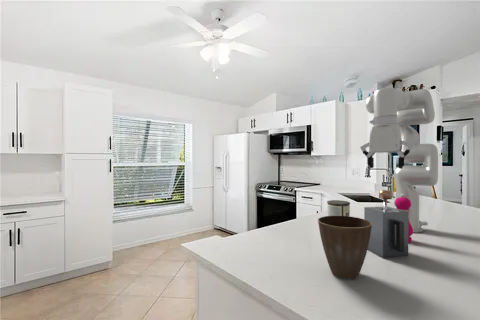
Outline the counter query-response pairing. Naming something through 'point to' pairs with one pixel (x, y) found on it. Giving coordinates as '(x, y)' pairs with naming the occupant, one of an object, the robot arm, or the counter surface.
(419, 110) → the robot arm
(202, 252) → the counter surface
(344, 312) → the counter surface
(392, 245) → the press
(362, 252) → the plant pot
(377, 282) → the counter surface
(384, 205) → the plunger
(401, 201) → the pepper mill
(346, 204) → the coffee can
